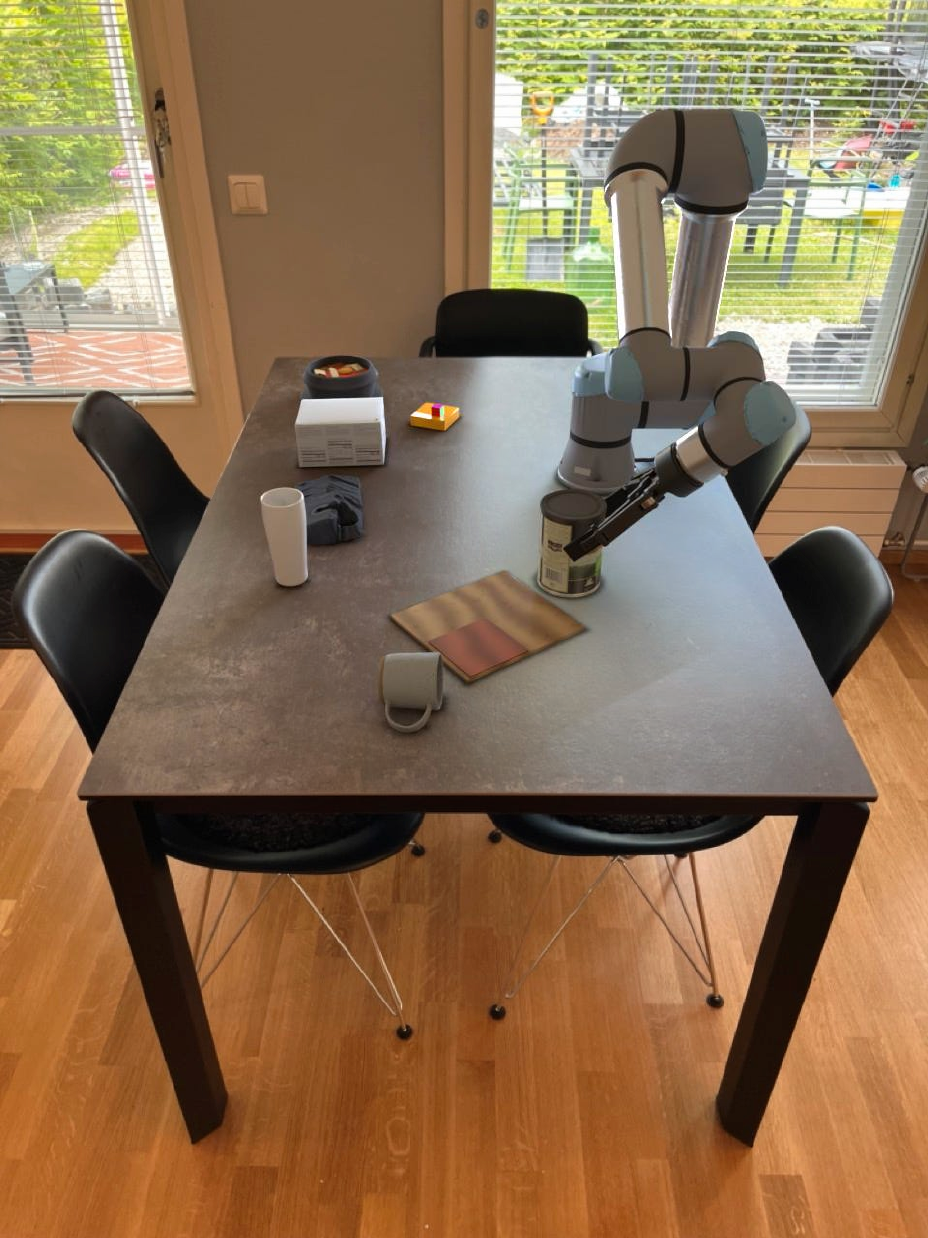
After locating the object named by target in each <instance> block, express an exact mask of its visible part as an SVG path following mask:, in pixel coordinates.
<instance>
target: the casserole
mask: <svg viewBox="0 0 928 1238" xmlns="http://www.w3.org/2000/svg"><path fill="white" fill-rule="evenodd" d="M378 377H379V372H378V370H377V369H376V368H375V365H374V364H373V362H372V361H371V360H370V359H367V358H365V357H362V356H358V355H351V354H350V355H348V354H347V355H346V354H345V355H344V354H343V355H342V354H341V355H340V354H339V355H330V356H325V357H321V358H317V359H314V360H312V361H311V362H308V363H307V365H306V367H305V370H304V373H303V374H302V376H301V380H302V382H303V383H304V384H305V385H306V387H305V388H304V389H303V390H302V391H301V392H300V395H299V396H300V400H301V401H302V400H306V399H307V400H308V399H346V398H378V397H383V395H384V390H383V388H382V387H381V386H380V385H379V384H377V383H376V380H377V379H378Z"/></svg>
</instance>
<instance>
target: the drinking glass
mask: <svg viewBox="0 0 928 1238" xmlns="http://www.w3.org/2000/svg"><path fill="white" fill-rule="evenodd" d="M259 500H260V511H261V520H262V526H263V528H264V529H263V530H264V533H265V534H264V535H265V538H266V542H267V546H268V549H269V550H268V551H269V555H270V559H271V562H272V568H273V574H274V579H275V581H276V582H277V584H279V585H281V586H284V587H296V586H300V585H302V584H304V583H305V582H306V581H307V579H308V577H309V570H308V568H309V567H308V544H307V522H306V509H305V502H304V496H303V494H302V492H300V491H299V490H297V489H294V488H292V487H277V488H273V489H269V490H267V491H265V492H264V493H263V494H261V496H260V499H259Z"/></svg>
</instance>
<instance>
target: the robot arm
mask: <svg viewBox="0 0 928 1238" xmlns="http://www.w3.org/2000/svg"><path fill="white" fill-rule="evenodd" d="M768 164H769V144H768V136H767V129H766V125H765V121H764V119H763V118H762V116H761V115H760V114H759V113H758V112H756V111H754V110H743V109H734V108H733V107H732V108H721V109H720V108H719V109H718V108H717V109H716V108H715V109H713V108H712V109H679V110H678V109H661V110H656V111H652V112H650V113H648V114H645V115H644V116H643V117H641V118H639V119H638V120H636V121H635V122H634V123H633V124H631V126H629V127H628V128H627V129H626V130H625V131H624V132H623V134H622V135H621V137H620V138H619V140H617V142H616V144H615V146H614V147H613V149H612V151H611V153H610V156H609V158H608V160H607V163H606V167H605V170H604V175H603V200H604V203H605V205H606V207H607V209H608V210H609V211H611V225H612V226H611V227H612V244H613V245H612V246H613V265H614V266H613V267H614V285H615V286H614V287H615V303H616V321H617V322H616V323H617V324H616V325H617V342H618V346H612V347H610V348H609V349H608V350H607V352H605V353H599V354H596V355H592V356H590V357H587V358H586V359H584V360H582V361H581V362H579V363H578V365H576V367H575V369H574V373H573V380H572V386H571V388H570V389H571V394H572V398H571V411H570V424H569V437H568V441H567V442H566V446H565V448H564V450H563V451H564V452H563V455H562V457H561V459H560V460H559V463H558V468H557V478H558V480H559V482H560V483H561V484H563V485H564V486H565V487H567V488H568V489H578V490H585V491H589V492H592V493H595V494H597V495H599V496H600V495H601V496H602V495H603V496H604V495H608V496H606V497H604V498H603V499H604V500H605V501H606V503H607V511H606V515H605V521H604V522H602V523H601V524H600V525H599V526H597V527H596V525H594V524H593V525H591V529H590V530H588V531H587V532H585V533H584V534H582V535H581V536H579V537H578V538H576V539H575V540H573V541H572V542H570V543H569V544H567V545H566V546H564V548H563V550H564V551H565V552H566V553H567V555H568V556H569V557H570V558H571V559H572V561H573V562H575V561H577V560H578V559H580V558H581V557H583V556H585V555H586V554H588V553H589V552H591V551H592V550H594V549H595V548H597V547H599V546H600V545H603V548H606V547H608V546H609V545H610V544H611V543H612V542H614V541H615V540H616V539H617V538H618V537H620V536H621V535H622V534H624V533H625V532H626V531H627V530H628V529H630V528H632V527H633V526H634V525H635V524H636V523H638V522H639V521H640V520H641V519H643V518H645V516H647V515H648V514H649V513H651V512H652V511H654V510H656V509H657V508H659V505H660V503H661V502H663V501H664V500H665V499H666V494H671V495H673V496H674V497H676V498H679V499H680V498H681V499H683V498H686V497H688V496H690V495H692V494H693V493H695V492H696V491H697V490H699V489H701V488H702V487H704V485H705V484H708V483H710V482H712V480H713V481H714V479H717V477H718V476H719V475H721V477H726V476H728V474H729V472H728V471H729V470H730V469H732V468H733V467H735V466H736V465H738V464H739V463H741V462H743V461H744V460H746V459H748V458H749V457H751V456H753V455H754V454H756V453H757V452H760V450H763V449H764V448H765V447H767V446H770V445H773V444H774V443H775V442H776V440H778V439H779V438H780V437H782V436H783V435H785V434H786V433H787V432H789V431H790V430H792V428H794V426H795V424H796V421H797V412H796V408H795V406H794V405H793V404H792V401H791V398H790V396H789V395H788V393H787V392H786V391H785V390H784V388H782V386H781V385H779V383H777V382H776V381H773V380H772V379H771V380H770V379H767V377H766V371H765V363H764V359H763V356H762V354H761V351H760V347H759V346H758V344H757V342H756V339H755V338H754V337H753V336H752V335H751V334H749V333H747V332H745V331H742V330H736V329H735V330H733V329H732V330H727V331H726V332H724V333H722V334H717V335H715V333H716V326H717V321H718V316H719V311H720V305H721V300H722V293H723V288H724V283H725V278H726V271H727V266H728V260H729V256H730V249H731V246H732V239H733V234H734V227H735V223H736V219H737V217H738V216H740V215H741V214H742V213H744V212H745V211H746V210H747V209H748V207H749V200H750V195H753V196H756V195H757V194H759V193H761V192H762V191H763V190H764V187H765V184H766V180H767V175H768ZM668 194H671V195H672V194H674V195H673V204H674V205H675V207H676V208H677V210H679V212H680V220H679V221H680V222H679V228H678V236H677V241H676V242H677V243H676V250H675V256H674V263H673V270H672V276H671V283H670V291H669V281H668V280H669V279H668V268H667V253H666V251H667V250H666V238H665V223H664V210H663V209H664V207H663V204H664V202H665V201H666V199H667V197H668ZM633 430H683V431H688V432H686V433H685V434H683V435H681V436H680V437H679V438H677V440H676V441H673V442H672V443H670V444H669V445H668V446H666V447H665V448H663V449H662V450H660V451H659V452H658V453H656V455H655V456H651V457H635V452H634V448H633V447H634V446H633V444H632V436H633ZM638 463H653V465H651V466H649V467H647V468H646V469H643V470H642V471H639V472H638Z"/></svg>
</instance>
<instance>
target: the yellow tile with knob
mask: <svg viewBox="0 0 928 1238" xmlns="http://www.w3.org/2000/svg"><path fill="white" fill-rule="evenodd" d="M459 418H460V408H459V407H457V406H451V405H445V404H440V403H432V402H425V403H423V404H422V405H421V406H420V407H419V408H417V410H415V411H414V412H413V413H412V414H410V426H413V427H420V428H424V429H430V430H431V429H432V430H437V431H443V432H445V431H447V429H448V428H449V427H450V426H451V425H452V424H454V422H456V421H457V420H458V419H459Z"/></svg>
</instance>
